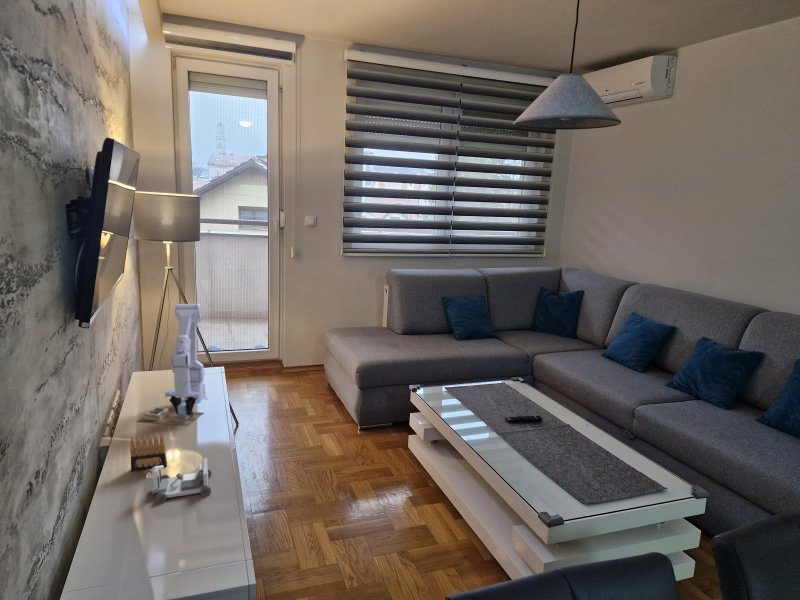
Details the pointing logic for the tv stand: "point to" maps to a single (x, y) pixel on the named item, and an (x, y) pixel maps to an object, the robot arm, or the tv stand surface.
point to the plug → (183, 410)
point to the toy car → (180, 482)
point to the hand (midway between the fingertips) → (184, 414)
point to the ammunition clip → (147, 453)
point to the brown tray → (168, 417)
